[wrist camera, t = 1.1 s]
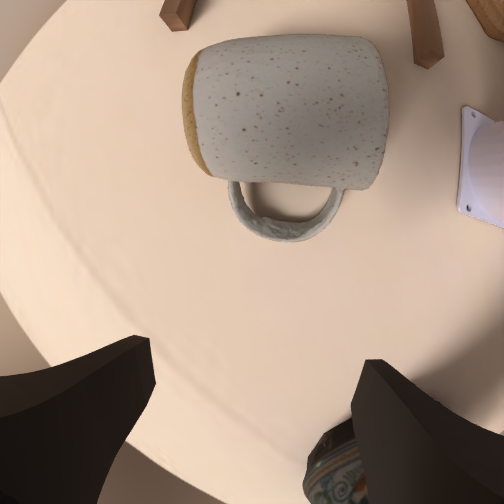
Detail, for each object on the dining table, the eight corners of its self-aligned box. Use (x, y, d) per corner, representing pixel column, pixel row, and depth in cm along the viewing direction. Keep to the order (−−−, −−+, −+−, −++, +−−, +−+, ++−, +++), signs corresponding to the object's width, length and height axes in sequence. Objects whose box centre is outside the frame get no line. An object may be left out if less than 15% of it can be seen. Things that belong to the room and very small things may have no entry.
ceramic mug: (217, 75, 15) (175, 14, 7) (345, 74, 14) (381, 12, 7) (219, 237, 17) (175, 275, 10) (351, 237, 16) (398, 276, 9)
